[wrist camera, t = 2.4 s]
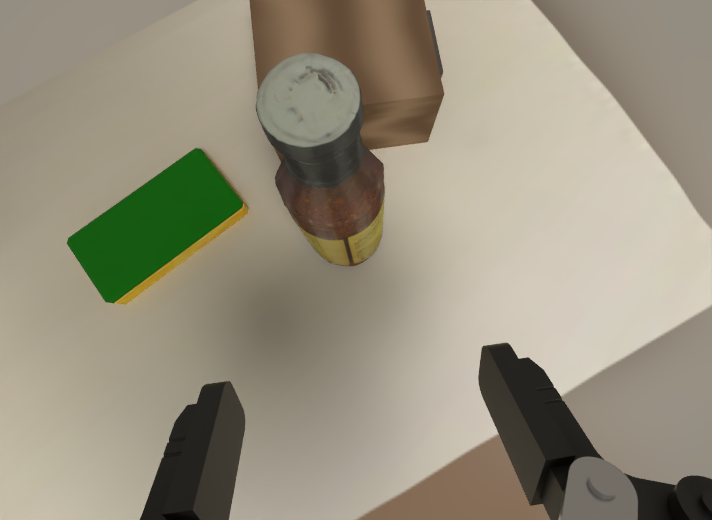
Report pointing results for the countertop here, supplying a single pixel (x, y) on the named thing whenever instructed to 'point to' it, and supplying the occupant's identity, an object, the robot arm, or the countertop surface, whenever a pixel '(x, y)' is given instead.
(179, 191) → the dish sponge
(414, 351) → the countertop surface
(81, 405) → the countertop surface
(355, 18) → the walnut box
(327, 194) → the sauce bottle
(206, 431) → the robot arm
